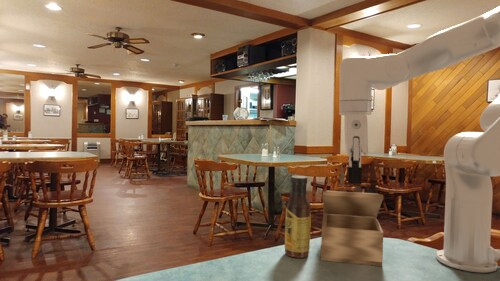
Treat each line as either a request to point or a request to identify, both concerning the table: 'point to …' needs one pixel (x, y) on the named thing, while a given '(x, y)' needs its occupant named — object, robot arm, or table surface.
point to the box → (352, 239)
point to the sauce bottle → (297, 219)
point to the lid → (351, 203)
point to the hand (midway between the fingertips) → (354, 183)
